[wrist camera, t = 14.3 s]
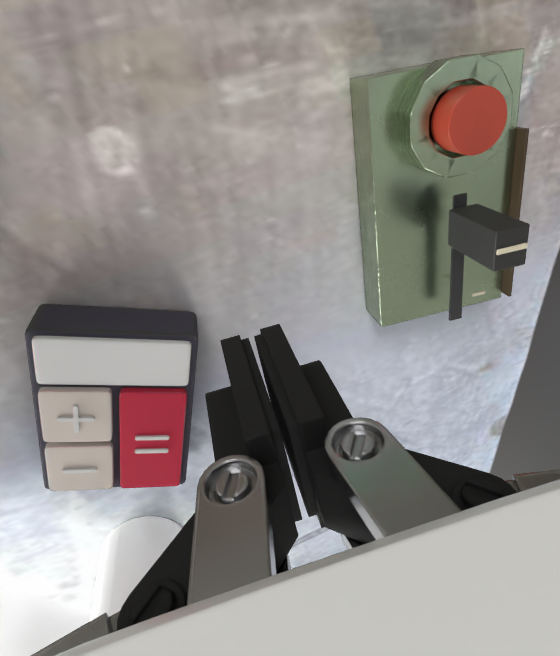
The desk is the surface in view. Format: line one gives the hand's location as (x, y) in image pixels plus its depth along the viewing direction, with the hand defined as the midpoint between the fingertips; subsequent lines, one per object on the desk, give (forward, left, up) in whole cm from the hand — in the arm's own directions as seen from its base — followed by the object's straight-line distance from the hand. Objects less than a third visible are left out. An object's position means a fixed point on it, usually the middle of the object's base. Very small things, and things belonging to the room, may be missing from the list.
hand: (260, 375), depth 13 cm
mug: (+25, -26, -22) cm, 42 cm away
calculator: (+8, -15, -22) cm, 27 cm away
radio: (+8, +13, -21) cm, 26 cm away
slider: (+9, +13, -16) cm, 22 cm away
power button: (+3, +15, -17) cm, 23 cm away
